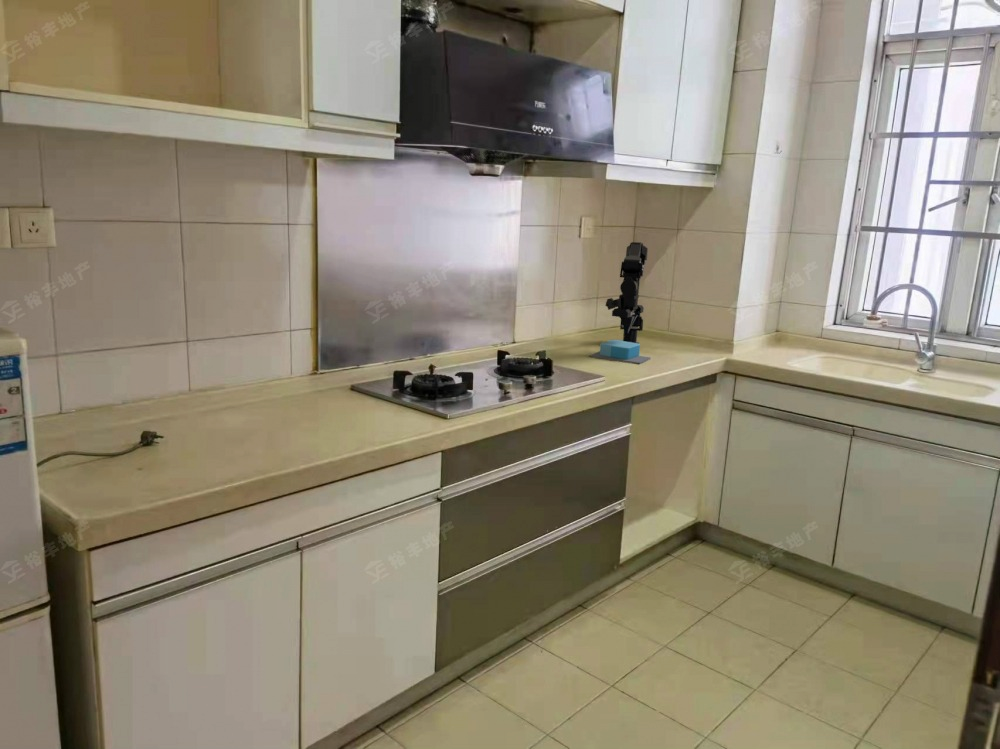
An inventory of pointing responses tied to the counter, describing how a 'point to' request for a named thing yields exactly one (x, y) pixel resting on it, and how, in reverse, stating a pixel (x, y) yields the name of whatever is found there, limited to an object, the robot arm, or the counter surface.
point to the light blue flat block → (619, 349)
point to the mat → (632, 360)
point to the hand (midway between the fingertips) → (626, 332)
